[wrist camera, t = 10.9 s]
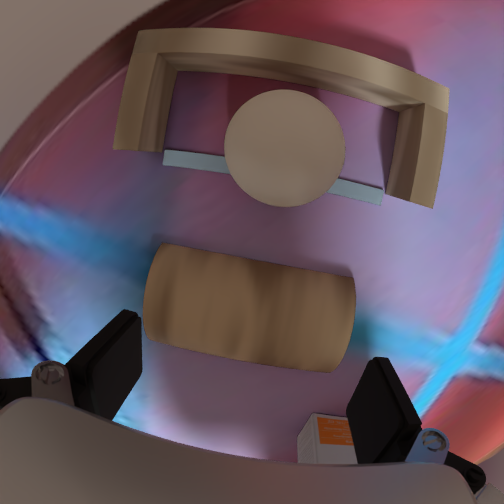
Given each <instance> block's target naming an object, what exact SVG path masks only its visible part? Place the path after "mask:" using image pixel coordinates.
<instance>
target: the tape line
mask: <svg viewBox="0 0 504 504" xmlns="http://www.w3.org/2000/svg"><path fill="white" fill-rule="evenodd" d="M163 165H167V166H176V167H184V168H191V169H199V170H206V171H213V172H220V173H226V174H230V171H229V169H228V166H227V163H226V159H225V157H223V156H216V155H208V154H200V153H192V152H183V151H174V150H165V152H164V159H163ZM327 193H331V194H336V195H340V196H344V197H348V198H352V199H357V200H361V201H365V202H369V203H373V204H376V205H380V206H381V202H382V197H383V193H384V190H381V189H377V188H373V187H370V186H366V185H362V184H358V183H354V182H350V181H346V180H342V179H338V178H337V180H336V181H335V183H334V184H333V185H332V187H331V188H330V189H329V190H328V191H327Z"/></svg>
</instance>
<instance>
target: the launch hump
mask: <svg viewBox="0 0 504 504" xmlns="http://www.w3.org/2000/svg"><path fill="white" fill-rule="evenodd" d="M355 307H356V291H355V283H354V279H353V278H351V277H346V276H340V275H334V274H329V273H323V272H318V271H312V270H307V269H301V268H296V267H290V266H285V265H280V264H274V263H269V262H263V261H258V260H252V259H247V258H242V257H236V256H231V255H226V254H220V253H215V252H210V251H204V250H199V249H194V248H189V247H183V246H178V245H173V244H168V243H162V244H161V245H160V247H159V248H158V250H157V252H156V254H155V257H154V259H153V262H152V264H151V267H150V271H149V274H148V278H147V282H146V287H145V293H144V301H143V324H144V329H145V333H146V335H147V337H148V338H149V339H150V340H152V341H156V342H160V343H163V344H167V345H171V346H175V347H179V348H183V349H188V350H192V351H196V352H201V353H205V354H210V355H215V356H219V357H224V358H229V359H235V360H240V361H246V362H251V363H257V364H263V365H270V366H276V367H283V368H290V369H298V370H306V371H315V372H325V373H330V372H332V371H334V370H335V369H336V368H337V367H338V365H339V364H340V362H341V360H342V359H343V357H344V354H345V352H346V350H347V347H348V344H349V341H350V337H351V333H352V329H353V324H354V317H355Z"/></svg>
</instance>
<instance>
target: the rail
mask: <svg viewBox="0 0 504 504" xmlns="http://www.w3.org/2000/svg"><path fill="white" fill-rule="evenodd" d="M178 71H199V72H215V73H227V74H237V75H246V76H254V77H261V78H268V79H274V80H280V81H286V82H291V83H296V84H301V85H306V86H311V87H315V88H320V89H324V90H328V91H332V92H336V93H340V94H344V95H347V96H351V97H354V98H358V99H361V100H364V101H368V102H371V103H374V104H377V105H380V106H383V107H386V108H389V109H392V110H395V111H397V112H399V118H398V126H397V133H396V139H395V146H394V152H393V158H392V163H391V169H390V174H389V179H388V184H387V189H386V193H385V194H387V195H390V196H394V197H397V198H400V199H403V200H406V201H409V202H413V203H416V204H419V205H422V206H425V207H429V208H432V209H433V205H434V201H435V196H436V191H437V187H438V181H439V176H440V170H441V165H442V158H443V152H444V144H445V136H446V128H447V117H448V104H449V88H447V87H445V86H443V85H441V84H439V83H436V82H434V81H432V80H430V79H428V78H426V77H423V76H421V75H419V74H417V73H414V72H412V71H410V70H407V69H405V68H402V67H400V66H397V65H394V64H392V63H389V62H386V61H384V60H381V59H378V58H375V57H372V56H369V55H366V54H363V53H359V52H356V51H353V50H349V49H346V48H342V47H338V46H334V45H330V44H326V43H322V42H318V41H313V40H308V39H303V38H298V37H293V36H287V35H281V34H274V33H266V32H258V31H249V30H237V29H222V28H167V29H151V30H140V31H139V32H138V35H137V38H136V42H135V45H134V48H133V52H132V56H131V59H130V63H129V67H128V71H127V75H126V79H125V84H124V88H123V93H122V97H121V102H120V108H119V113H118V118H117V124H116V130H115V137H114V144H113V149H119V150H134V151H149V152H162V151H163V144H164V138H165V132H166V126H167V120H168V115H169V110H170V104H171V99H172V95H173V90H174V85H175V81H176V76H177V72H178Z"/></svg>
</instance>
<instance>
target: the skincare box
mask: <svg viewBox="0 0 504 504" xmlns="http://www.w3.org/2000/svg"><path fill="white" fill-rule="evenodd" d="M297 454H298V463H311V464H358V463H357V458H356V453H355V449H354V444H353V440H352V436H351V431H350V427H349V423H348V419H347V417H338V416H330V415H323V414H316V413H312V414H311V416H310V418H309V419H308V421H307V423H306V424H305V426H304V427H303V429H302V430H301V432H300V433H299V435H298V436H297Z"/></svg>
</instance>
